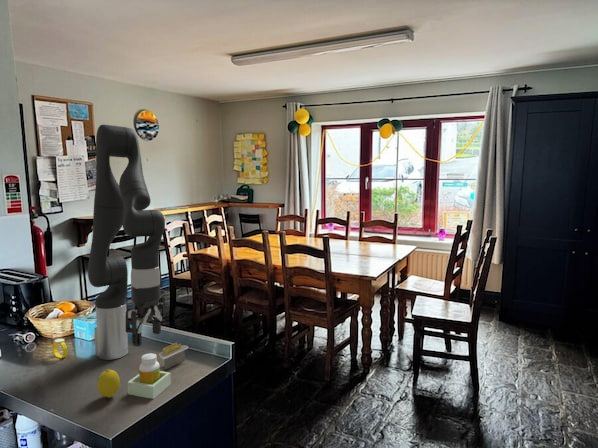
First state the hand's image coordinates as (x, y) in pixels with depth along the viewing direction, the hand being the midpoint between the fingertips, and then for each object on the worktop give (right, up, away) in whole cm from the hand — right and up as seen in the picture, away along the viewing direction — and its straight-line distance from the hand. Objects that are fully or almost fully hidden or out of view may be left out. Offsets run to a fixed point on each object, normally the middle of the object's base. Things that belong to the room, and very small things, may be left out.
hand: (147, 339), depth 114 cm
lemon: (-9, -15, -3) cm, 18 cm away
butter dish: (+2, -13, +17) cm, 22 cm away
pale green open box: (0, -15, +2) cm, 15 cm away
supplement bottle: (0, -15, +2) cm, 15 cm away
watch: (-36, -12, +21) cm, 44 cm away
